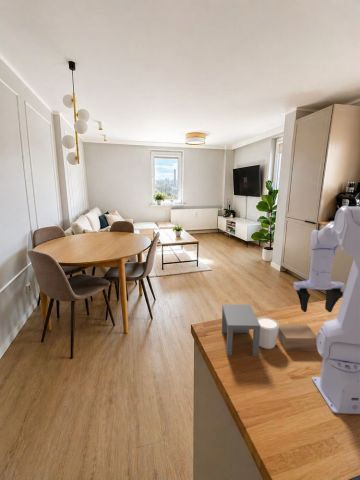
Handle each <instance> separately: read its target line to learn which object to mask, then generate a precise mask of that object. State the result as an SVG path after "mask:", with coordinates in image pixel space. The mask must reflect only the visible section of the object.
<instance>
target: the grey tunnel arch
mask: <svg viewBox="0 0 360 480" xmlns="http://www.w3.org/2000/svg"><path fill="white" fill-rule="evenodd" d="M221 308H222V309H221V310H222V311H221V312H222V313H221V333H222V334H226V350H225V351H226V356H233V337H234V336H233V334H249V333H250V330H253V332H252V345H251V346H252V348H251V349H252V350H251V352H252V353H251V354H252V355H253V356H254V357H258V356H259V349H260V346H259V337H260V324H259V322H258V320H257V316H256V314H255V312H254V311H253V308H252V306H251V305H250V304H222V306H221Z"/></svg>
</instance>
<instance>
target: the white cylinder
mask: <svg viewBox="0 0 360 480" xmlns="http://www.w3.org/2000/svg"><path fill="white" fill-rule="evenodd" d="M256 318H257V317H256ZM257 320H258V322H259V324H260V337H259V347H261V348H264V349H267V350H269V349H273V348H275V347H276V345H277V340H278V338H277V335H278V330H279V325H280V323H279V322H278V321H277V320H275V319H274V318H271V317H266V316H262V317H258V318H257Z"/></svg>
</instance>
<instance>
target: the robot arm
mask: <svg viewBox="0 0 360 480" xmlns="http://www.w3.org/2000/svg"><path fill="white" fill-rule="evenodd" d="M311 231H312V232H311V234H310V239H309V240H310V243H309V244H310V249H311V258H310V267H309V275H308V279H307V280H302V281H294V282H293V289H294V290H295V291H296V294H297V296H298V299H299V300H298V301H299V303H300V310H302V312H303V313H307V310H308V303H309V301H310V297H311V294H310V293H309V291H308V290H321V291H323V290H325V304H324V308H325V310H326V311H327V312H328V313H332V311H333V309H334V307H335V305H336V304H337V302H338V301H339V300H340V299H341V302H340V305H339V307H338V308H339V309H338V312H337V315H336V317H335V318H332V319H331V320H328V321H324V322H323V323H322V325H321V328H320V329H319V331H317V334H316V336H317V349H318V350H317V352H318V354H319V355H320V357H321V358H322V360H321V361H322V362H321V371H320V376H311V380H312V382H313V383H314V385H315V387H316V388H317V390H318V391H319V392H320V394H321V396H322V397H323V399H324V401H325V402H326V404H327V405H328V407H329V409H330V411H331V412H333V414H356V415H360V206H348V205H342V206H341V207H339V209H337V211H336V212H335V216H334V220H331V221H329V223H328V224H326V225H325V226H324V227H322V228H321V229H320V230H317V229H313V230H311ZM339 246H340V248H341V251H342V252H343V253H345V254H347V255H348V256H351V257H352V259H353V260H352V265H351V267H350V270H349V271H350V272H349V273H348V274H349V275H348V278H347V281H346V284H345V283H343V282H342V281H334V280H333V281H331V280H332V274H333V265H334V261H335V260H334V258H335V257H336V256H337V253H338V250H339Z"/></svg>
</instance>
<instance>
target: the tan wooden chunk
mask: <svg viewBox="0 0 360 480" xmlns="http://www.w3.org/2000/svg"><path fill="white" fill-rule="evenodd" d="M277 340H278V342H279V344H281V346H282V348H283V350H284V352H285V351H287V352H295V351H296V352H318V349H317V334H315V332H314V330H312V328H311V327H310V326H309V325H308V324H279V330H278V335H277Z"/></svg>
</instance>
